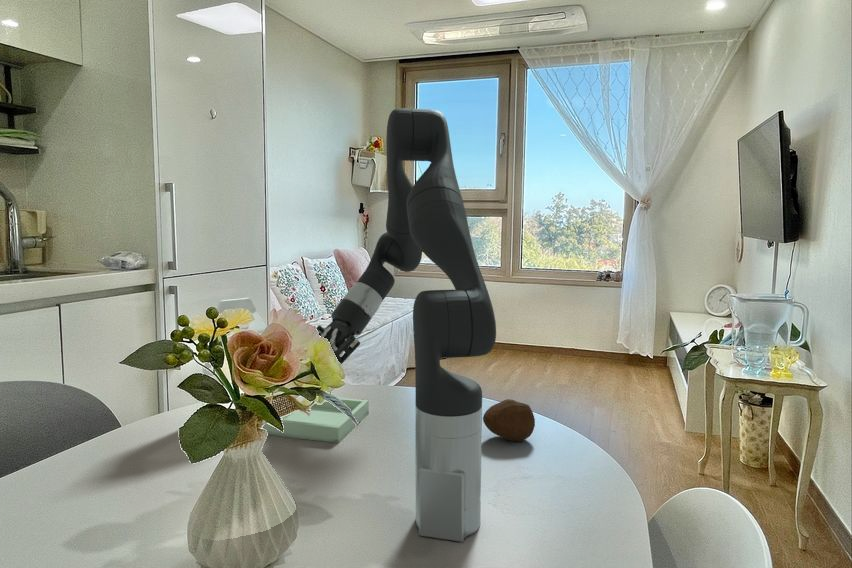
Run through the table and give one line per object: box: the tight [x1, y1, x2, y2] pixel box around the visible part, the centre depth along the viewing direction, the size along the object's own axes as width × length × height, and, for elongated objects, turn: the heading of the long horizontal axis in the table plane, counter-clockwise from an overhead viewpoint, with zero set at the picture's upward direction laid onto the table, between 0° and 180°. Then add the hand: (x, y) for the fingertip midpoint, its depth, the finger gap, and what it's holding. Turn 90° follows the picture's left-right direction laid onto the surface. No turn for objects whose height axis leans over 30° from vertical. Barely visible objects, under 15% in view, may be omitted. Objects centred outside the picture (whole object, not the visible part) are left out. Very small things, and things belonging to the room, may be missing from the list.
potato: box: [482, 398, 536, 442], centre depth 107 cm, size 7×10×8 cm
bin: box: [263, 397, 370, 444], centre depth 115 cm, size 16×16×3 cm
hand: (310, 373), depth 112 cm, fingers closed on pepper mill, 5 cm apart
